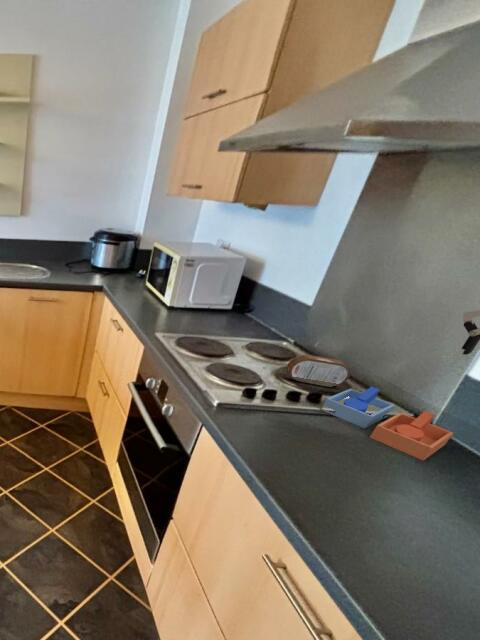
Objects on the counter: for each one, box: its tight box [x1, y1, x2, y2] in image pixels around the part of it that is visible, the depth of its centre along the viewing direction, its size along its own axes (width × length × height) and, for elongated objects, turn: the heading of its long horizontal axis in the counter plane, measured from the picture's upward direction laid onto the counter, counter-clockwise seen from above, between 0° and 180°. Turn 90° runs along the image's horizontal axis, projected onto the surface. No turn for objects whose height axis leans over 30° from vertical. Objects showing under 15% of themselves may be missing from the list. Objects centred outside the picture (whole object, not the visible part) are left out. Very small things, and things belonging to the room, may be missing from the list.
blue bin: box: [320, 388, 396, 429], centre depth 108 cm, size 10×14×4 cm
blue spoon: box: [343, 385, 380, 413], centre depth 108 cm, size 5×11×3 cm, turn 120°
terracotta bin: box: [369, 412, 454, 461], centre depth 97 cm, size 10×14×4 cm
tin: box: [285, 354, 351, 386], centre depth 122 cm, size 15×3×8 cm, turn 71°
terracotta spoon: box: [394, 410, 436, 442], centre depth 97 cm, size 5×11×3 cm, turn 119°
